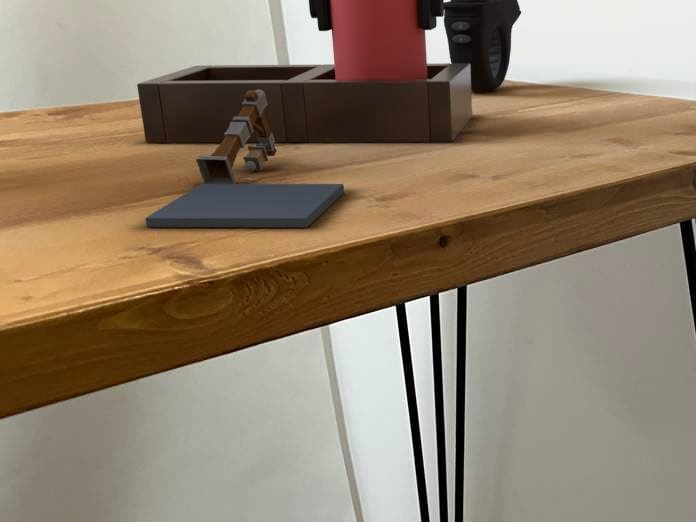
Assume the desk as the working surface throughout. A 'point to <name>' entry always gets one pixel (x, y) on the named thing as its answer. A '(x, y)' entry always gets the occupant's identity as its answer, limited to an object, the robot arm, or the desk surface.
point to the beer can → (378, 39)
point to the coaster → (248, 206)
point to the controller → (481, 38)
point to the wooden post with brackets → (240, 143)
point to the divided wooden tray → (307, 104)
